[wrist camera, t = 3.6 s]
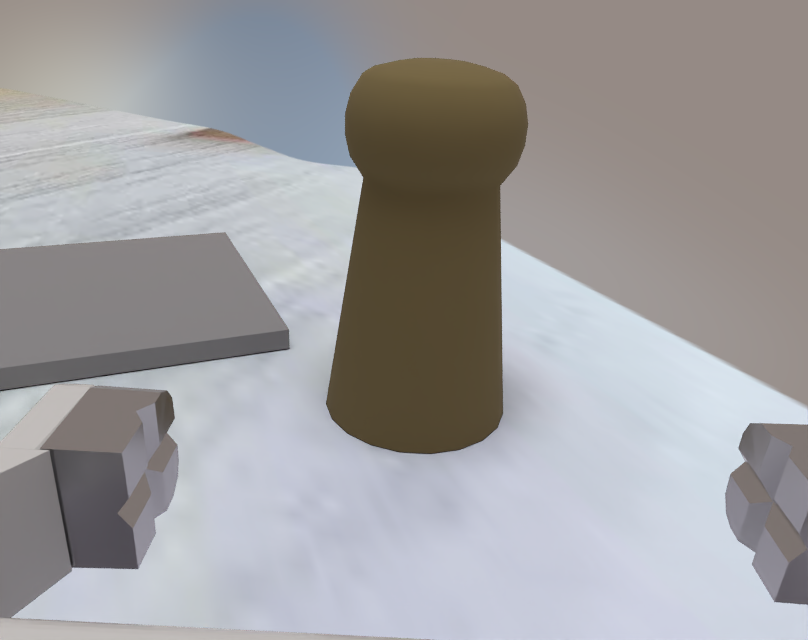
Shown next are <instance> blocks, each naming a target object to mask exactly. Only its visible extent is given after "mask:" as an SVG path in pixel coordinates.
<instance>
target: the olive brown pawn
mask: <svg viewBox="0 0 808 640" xmlns="http://www.w3.org/2000/svg"><path fill="white" fill-rule="evenodd" d="M527 128H528V119H527V111H526V103H525V101H524V98H523V96H522V94H521V91H520V89H519V87H518V85H517V84H516V83H515V82H514V81H512V80H511V79H510V78H509V77H508V76H506V75H505V74H503V73H500V72H498V71H495V70H492V69H490V68H487V67H484V66H481V65H477V64H473V63H469V62H465V61H459V60H451V59H438V58H413V59H405V60H398V61H394V62H389V63H384V64H380V65H375V66H373V67H371V68H370V69H368V70H366V71H365V72H363V73H362V75H361V76H360V78H359V80H358V81H357V83H356V85H355V86H354V88H353V89H352V91H351V93H350V97H349V101H348V104H347V108H346V112H345V136H346V141H347V145H348V150H349V153H350V157H351V158H352V160H353V162H354V163H355V165H356V166H357V168H358V170H359V171H360V173H361V174H362V176H363V183H362V189H361V195H360V201H359V207H358V214H357V220H356V226H355V232H354V238H353V244H352V250H351V256H350V262H349V268H348V274H347V280H346V286H345V292H344V298H343V304H342V310H341V316H340V322H339V328H338V335H337V341H336V347H335V353H334V359H333V365H332V371H331V377H330V383H329V389H328V395H327V401H326V405H327V407H328V410H329V412H330V415H331V417H332V419H333V420H334V421H335V422H336V423H337V424H338V425H339V426H340V427H341V428H342V429H343V430H345V431H346V432H347V433H348V434H350V435H352V436H354V437H356V438H358V439H360V440H362V441H364V442H366V443H368V444H370V445H374V446H378V447H382V448H386V449H390V450H394V451H398V452H411V453H430V454H431V453H438V452H445V451H452V450H459V449H462V448H464V447H467V446H470V445H472V444H475V443H477V442H480V441H482V440H484V439H485V438H486V437H487V436H488V435H489V434H491V433H492V432H493V431H494V430H495V429H496V428H497V427H498V425H499V422H500V419H501V417H502V414H503V381H502V300H501V224H500V223H501V222H500V221H501V219H500V185H501V184H502V183H503V182H504V181H505V179H506V178H507V177H508V176H509V175H510V173H511V172H512V171H513V170H514V169H515V168H516V166H517V165H518V162H519V159H520V157H521V154H522V152H523V149H524V146H525V142H526V135H527Z"/></svg>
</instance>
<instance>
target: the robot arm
mask: <svg viewBox="0 0 808 640" xmlns="http://www.w3.org/2000/svg"><path fill="white" fill-rule="evenodd" d="M174 418H175V416H174V409H173V401H172V397H171V395H170V394H169V393H168V391H165V390H152V389H138V388H124V387H111V386H94V385H86V384H58V385H54V386H53V387H52V388H51V389H50V390H49V391H48V392H47V393H46V394H45V395H44V396H43V397H42V398H41V399H40V400H39V401H38V403H37V404H36V405H35V406H34V407H33V408H32V409H31V410H30V411H29V412H28V413H27V414H26V415H25V416H24V417H23V418H22V420H21V421H20V422H19V423H18V424H17V425H16V426H15V427H14V428H13V429H12V430H11V431H10V432H9V433H8V434H7V435H6V437H5V438H4V439H3V440H2V441H1V442H0V640H431V639H411V638H392V637H372V636H353V635H333V634H314V633H294V632H275V631H255V630H235V629H216V628H196V627H177V626H157V625H138V624H118V623H99V622H79V621H60V620H40V619H21V618H11V617H12V616H14V615H15V614H16V613H18V612H19V611H20V610H21V609H23V608H24V607H25V606H27V605H28V604H29V603H31V602H32V601H33V600H35V599H36V598H37V597H38V596H40V595H41V594H42V593H44V592H45V591H46V590H48V589H49V588H50V587H52V586H53V585H54V584H56V583H57V582H58V581H59V580H61V579H62V578H63V577H65V576H66V575H67V574H69V573H70V572H71V571H72V568H113V569H139V566H140V564H141V562H142V560H143V558H144V556H145V554H146V552H147V550H148V548H149V546H150V544H151V542H152V540H153V538H154V536H155V534H156V530H155V521H154V518H156V517H157V516H159V515H161V514H162V513H164V512H165V511H167V509H168V507H169V505H170V502H171V500H172V498H173V496H174V491H175V487H176V482H177V478H178V462H179V458H178V446H177V444H176V443H175V442H174V440H173V439H172V438H171V437H170V436H169V435H168V434H167V431H168V429H169V427H170V426H171V424H172V422H173V420H174ZM739 450H740V452H741V454H742V456H743V458H744V460H745V462H744V463H743V464H742V465H741V466H740V467H738V468H737V469H736V470H735V471H734V472H732V473H731V474H730V478H729V482H728V486H727V489H726V493H725V498H726V515H727V518H728V521H729V525H730V528H731V529H732V531H733V533H734V535H735V536H736V538H737V540H738V541H739V542H741V543H742V544H744V545H745V546H747V547H748V548H750V549H751V550H752V551H754V552H755V556H754V559H753V562H752V565H753V567H754V569H755V570H756V572H757V574H758V575H759V577H760V579H761V580H762V582H763V584H764V585H765V587H766V589H767V590H768V592H769V594H770V595H771V597H772V599H773V600H774V602H781V603H793V604H806V605H808V425H798V424H764V423H750V424H749V426H748V427H747V429H746V430H745V431H744V433H743V435H742V438H741V441H740V445H739Z"/></svg>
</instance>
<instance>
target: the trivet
mask: <svg viewBox="0 0 808 640" xmlns="http://www.w3.org/2000/svg"><path fill="white" fill-rule="evenodd" d="M288 348H289V329H288V327H287V326H286V324H285V323H284V321H283V320H282V318H281V317H280V315H279V314H278V312H277V311H276V309H275V308H274V306H273V305H272V303H271V302H270V300H269V298H268V297H267V295H266V294H265V292H264V291H263V289H262V288H261V286H260V285H259V283H258V282H257V280H256V279H255V277H254V276H253V274H252V273H251V271H250V269H249V268H248V266H247V265H246V263H245V262H244V260H243V259H242V257H241V256H240V254H239V253H238V251H237V250H236V248H235V247H234V245H233V244H232V242H231V241H230V239H229V237H228V236H227V234H226V233H225V232H224V233H211V234H198V235H184V236H171V237H158V238H145V239H131V240H118V241H105V242H91V243H78V244H65V245H52V246H38V247H25V248H12V249H0V390H4V389H11V388H18V387H25V386H32V385H39V384H46V383H53V382H60V381H67V380H73V379H80V378H87V377H94V376H101V375H108V374H115V373H122V372H129V371H136V370H143V369H150V368H156V367H163V366H170V365H177V364H184V363H191V362H198V361H205V360H212V359H219V358H226V357H232V356H239V355H246V354H253V353H260V352H267V351H274V350H281V349H288Z"/></svg>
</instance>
